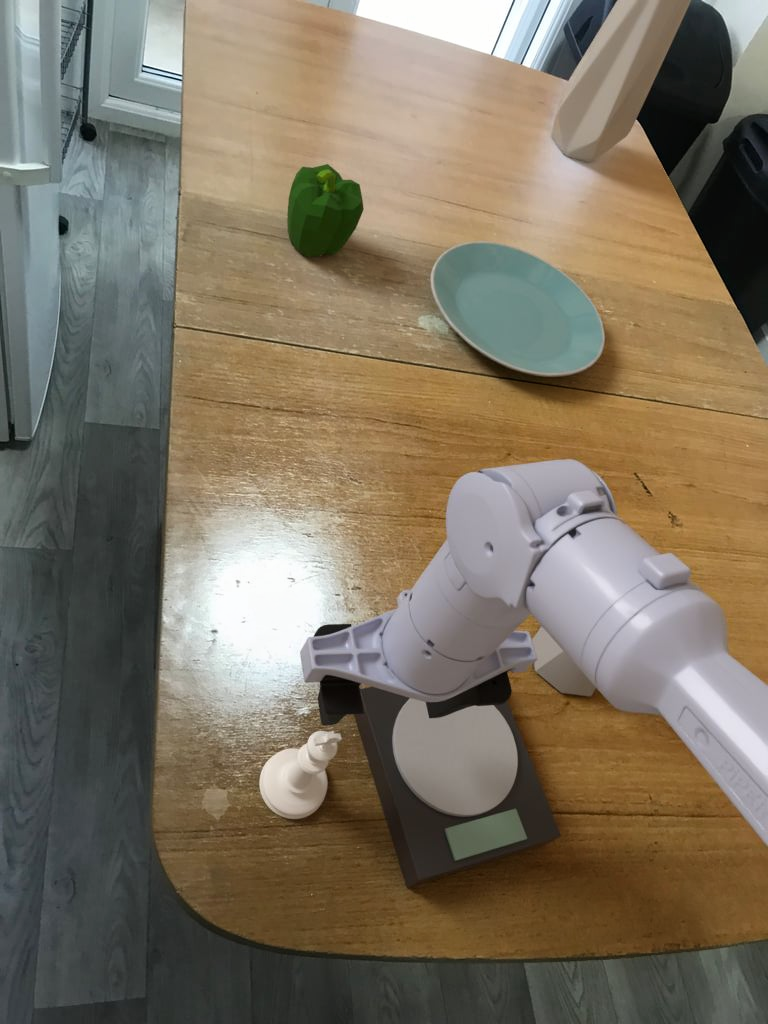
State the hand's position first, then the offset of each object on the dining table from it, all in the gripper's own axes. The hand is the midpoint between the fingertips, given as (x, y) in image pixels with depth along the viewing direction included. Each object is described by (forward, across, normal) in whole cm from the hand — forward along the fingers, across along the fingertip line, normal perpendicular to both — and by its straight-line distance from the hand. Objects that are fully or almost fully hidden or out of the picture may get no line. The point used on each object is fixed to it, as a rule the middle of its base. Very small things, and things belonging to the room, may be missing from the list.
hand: (378, 707), depth 57 cm
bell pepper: (+8, -6, -59) cm, 60 cm away
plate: (+8, -29, -50) cm, 58 cm away
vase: (+8, -53, -92) cm, 107 cm away
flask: (+8, -22, -6) cm, 24 cm away
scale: (+8, -8, +2) cm, 12 cm away
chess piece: (+8, +4, +2) cm, 10 cm away
